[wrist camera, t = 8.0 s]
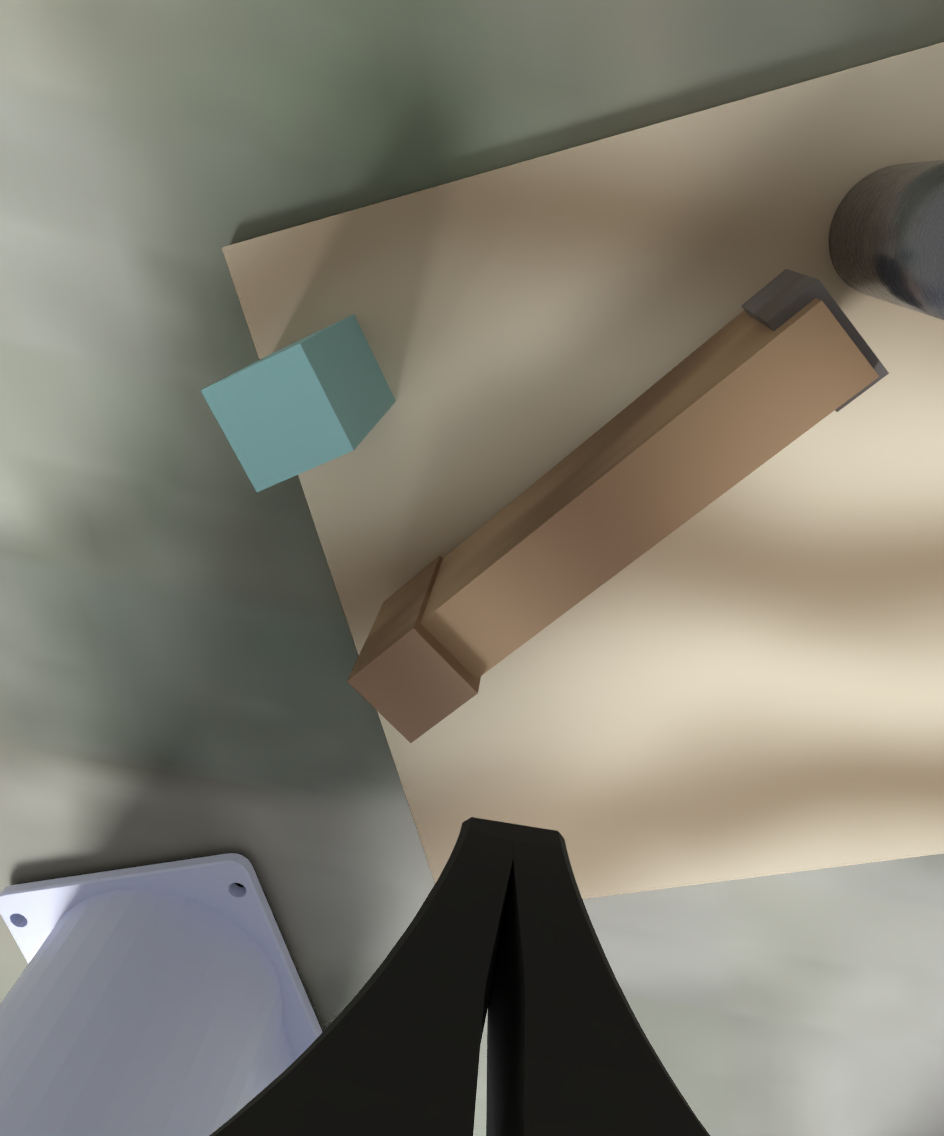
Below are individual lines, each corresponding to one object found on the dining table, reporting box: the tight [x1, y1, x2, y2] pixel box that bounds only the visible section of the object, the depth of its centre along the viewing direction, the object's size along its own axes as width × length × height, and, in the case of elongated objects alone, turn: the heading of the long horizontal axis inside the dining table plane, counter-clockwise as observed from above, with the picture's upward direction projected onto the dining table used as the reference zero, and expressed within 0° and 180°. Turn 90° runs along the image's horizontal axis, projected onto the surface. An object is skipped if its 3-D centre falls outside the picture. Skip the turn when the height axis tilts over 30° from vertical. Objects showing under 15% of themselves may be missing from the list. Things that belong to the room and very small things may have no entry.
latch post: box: [201, 314, 396, 492], centre depth 18 cm, size 2×2×4 cm
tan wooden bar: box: [347, 269, 889, 743], centre depth 17 cm, size 11×2×4 cm, turn 133°
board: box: [222, 42, 944, 899], centre depth 20 cm, size 18×16×1 cm
